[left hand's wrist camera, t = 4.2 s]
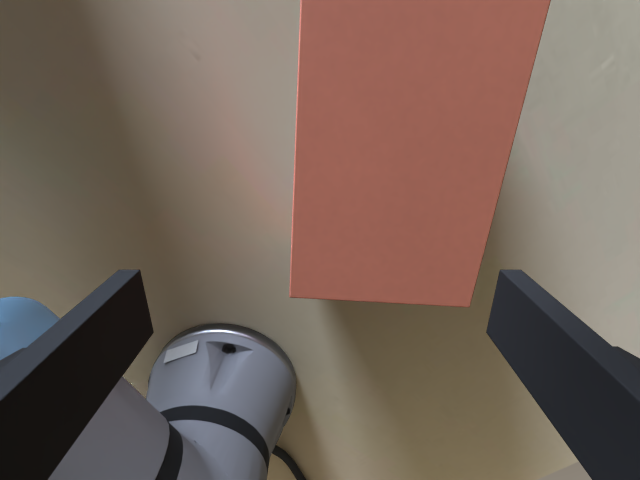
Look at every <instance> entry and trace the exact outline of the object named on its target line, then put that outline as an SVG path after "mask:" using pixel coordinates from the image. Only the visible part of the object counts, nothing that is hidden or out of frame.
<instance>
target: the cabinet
mask: <svg viewBox="0 0 640 480" xmlns="http://www.w3.org/2000/svg"><path fill="white" fill-rule="evenodd" d="M550 1H551V0H301V4H300V30H299V57H298V83H297V109H296V136H295V162H294V188H293V215H292V241H291V268H290V294H289V296H290V297H292V298H310V299H328V300H346V301H365V302H383V303H401V304H419V305H437V306H455V307H470V303H471V300H472V296H473V292H474V288H475V284H476V281H477V277H478V273H479V269H480V266H481V262H482V258H483V254H484V250H485V247H486V243H487V239H488V235H489V231H490V228H491V224H492V220H493V216H494V213H495V209H496V205H497V201H498V197H499V194H500V190H501V186H502V182H503V179H504V175H505V171H506V167H507V163H508V160H509V156H510V152H511V148H512V145H513V141H514V137H515V133H516V129H517V126H518V122H519V118H520V114H521V111H522V107H523V103H524V99H525V95H526V92H527V88H528V84H529V80H530V76H531V73H532V69H533V65H534V61H535V58H536V54H537V50H538V46H539V42H540V39H541V35H542V31H543V27H544V24H545V20H546V16H547V12H548V8H549V5H550Z"/></svg>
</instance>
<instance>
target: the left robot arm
mask: <svg viewBox="0 0 640 480" xmlns="http://www.w3.org/2000/svg"><path fill="white" fill-rule="evenodd" d="M153 333H154V332H153V327H152V322H151V318H150V313H149V309H148V304H147V299H146V295H145V290H144V286H143V281H142V277H141V272H140V270H118V271H117V272H116V273H115V274H113V275H112V276H111V277H110V278H109V279H107V280H106V281H105V282H104V283H103V284H102V285H100V286H99V287H98V288H97V289H96V290H94V291H93V292H92V293H91V294H90V295H88V296H87V297H86V298H85V299H84V300H82V301H81V302H80V303H79V304H78V305H77V306H75V307H74V308H73V309H72V310H71V311H69V312H68V313H67V314H66V315H65V316H63V317H62V318H61V319H60V318H59V317H57V316H56V315H55V314H54V313H53V312H52V311H51V310H49V309H48V308H47V307H46V306H44V305H43V304H41V303H40V302H38V301H36V300H33V299H30V298H26V297H6V298H0V480H267V473H268V466H269V459H270V455H271V453H273V454H274V455H276V456H278V457H279V458H281V459H282V460H283V461H284V462H285V463H286V464H287V465H288V467H289V468H290V470H291V471H292V473H293V474H294V476H295V477H296V479H297V480H306V479H305V477H304V476H303V474H302V472H301V471H300V469H299V468H298V466H297V465H296V463H295V462H294V460H293V459H292V458H291V457H290V456H289V455H288V454H287V453H286V452H285V451H284V450H283V449H281V448H280V447H278V446H277V445H276V443H277V441H278V439H279V437H280V435H281V432H282V430H283V427H284V426H285V424H286V422H287V421H288V419H289V417H290V415H291V412H292V409H293V406H294V402H295V394H296V376H295V371H294V368H293V366H292V363H291V361H290V360H289V358H288V356H287V355H286V354H285V352H284V351H283V350H282V349H281V348H280V347H279V346H278V345H277V344H276V343H275V342H273V341H272V340H271V339H269V338H268V337H266V336H264V335H262V334H261V333H259V332H256V331H254V330H252V329H249V328H245V327H242V326H238V325H231V324H207V325H201V326H197V327H194V328H191V329H188V330H186V331H184V332H182V333H180V334H179V335H177V336H176V337H174V338H173V339H172V340H171V341H170V342H169V343H168V344H167V345H166V346H165V347H164V349H163V350H162V352H161V353H160V355H159V356H158V358H157V360H156V361H155V363H154V365H153V367H152V370H151V373H150V377H149V381H148V391H147V396H146V399H145V398H144V397H143V396H142V395H141V394H140V393H139V392H138V391H137V390H136V389H135V388H134V387H133V386H132V385H131V384H130V383H129V382H128V381H127V380H126V379H125V378H124V377H123V374H124V373H125V372H126V370H127V369H128V367H129V366H130V365H131V363H132V362H133V360H134V359H135V358H136V356H137V355H138V353H139V352H140V351H141V349H142V348H143V347H144V345H145V344H146V342H147V341H148V340H149V338H150V337H151V335H152V334H153ZM486 333H487V334H488V335H489V337H490V338H491V340H492V341H493V342H494V344H495V345H496V347H497V348H498V349H499V351H500V352H501V353H502V355H503V356H504V358H505V359H506V360H507V362H508V363H509V365H510V366H511V367H512V369H513V370H514V372H515V373H516V374H517V376H518V377H519V378H520V380H521V381H522V383H523V384H524V385H525V387H526V388H527V390H528V391H529V392H530V394H531V395H532V397H533V398H534V399H535V401H536V402H537V404H538V405H539V406H540V408H541V409H542V410H543V412H544V413H545V415H546V416H547V417H548V419H549V420H550V422H551V423H552V424H553V426H554V427H555V429H556V430H557V431H558V433H559V434H560V436H561V437H562V438H563V440H564V441H565V442H566V444H567V445H568V447H569V448H570V449H571V451H572V452H573V454H574V455H575V456H576V458H577V459H578V461H579V462H580V463H581V465H582V466H583V468H584V469H585V470H586V472H587V473H588V474H589V476H590V477H591V479H592V480H640V359H639V358H638V357H636V356H634V355H632V354H630V353H629V352H627V351H625V350H623V349H621V348H619V347H612V346H611V345H610V344H609V343H608V342H606V341H605V340H604V339H603V338H602V337H600V336H599V335H598V334H597V333H596V332H594V331H593V330H592V329H591V328H590V327H588V326H587V325H586V324H585V323H584V322H583V321H581V320H580V319H579V318H578V317H577V316H575V315H574V314H573V313H572V312H571V311H569V310H568V309H567V308H566V307H565V306H563V305H562V304H561V303H560V302H559V301H558V300H556V299H555V298H554V297H553V296H552V295H550V294H549V293H548V292H547V291H546V290H544V289H543V288H542V287H541V286H540V285H538V284H537V283H536V282H535V281H534V280H533V279H531V278H530V277H529V276H528V275H527V274H525V273H524V272H523V271H522V270H500V272H499V277H498V281H497V286H496V290H495V295H494V299H493V304H492V309H491V313H490V318H489V322H488V327H487V332H486Z"/></svg>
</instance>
